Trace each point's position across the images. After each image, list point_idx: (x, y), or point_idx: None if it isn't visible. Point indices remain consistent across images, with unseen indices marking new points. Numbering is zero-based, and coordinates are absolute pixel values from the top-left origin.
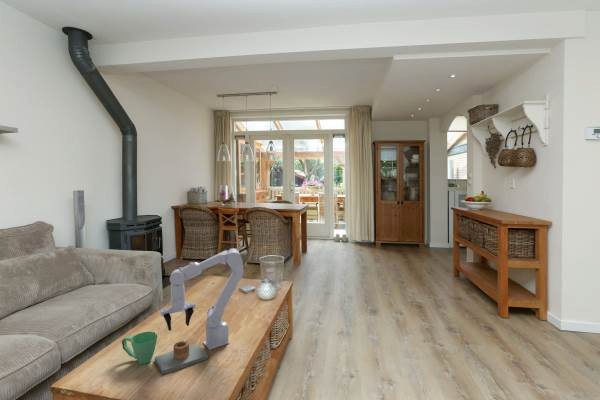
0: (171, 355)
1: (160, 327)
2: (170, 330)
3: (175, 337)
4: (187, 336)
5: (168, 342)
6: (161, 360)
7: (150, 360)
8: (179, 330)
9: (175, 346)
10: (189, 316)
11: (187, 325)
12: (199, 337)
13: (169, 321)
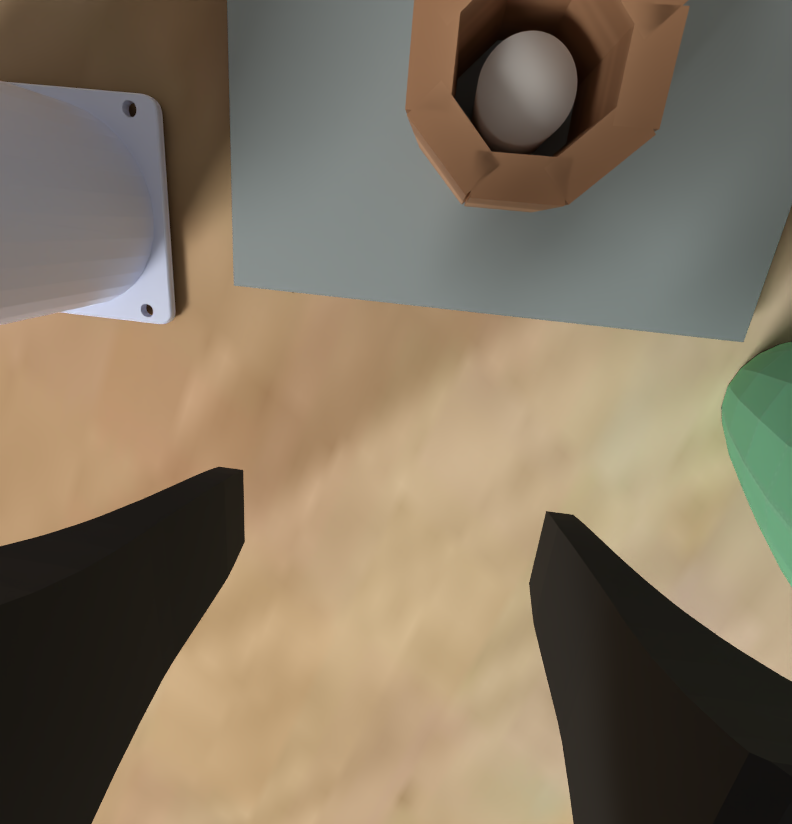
0: (591, 230)
1: (392, 802)
2: (557, 513)
3: (360, 596)
4: (264, 542)
5: (447, 561)
6: (741, 197)
7: (764, 352)
8: (286, 674)
9: (652, 67)
10: (65, 550)
11: (236, 470)
12: (174, 449)
13: (688, 646)
